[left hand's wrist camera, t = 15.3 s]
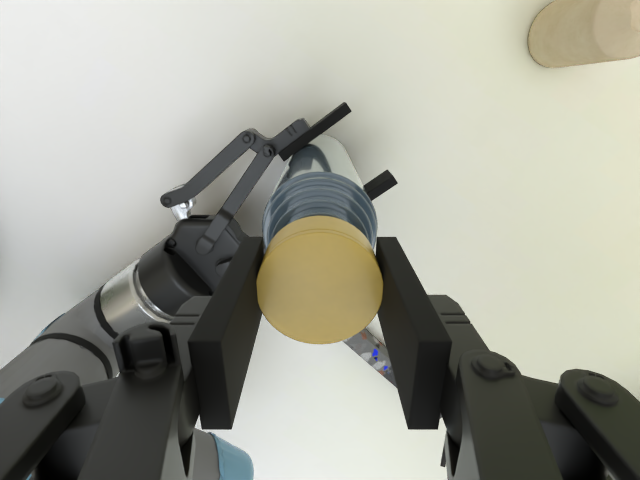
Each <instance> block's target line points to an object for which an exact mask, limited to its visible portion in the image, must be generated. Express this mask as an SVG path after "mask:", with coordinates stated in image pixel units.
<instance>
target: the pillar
mask: <svg viewBox="0 0 640 480" xmlns="http://www.w3.org/2000/svg"><path fill="white" fill-rule="evenodd" d="M342 341H343V342H344V343H345V344H347V345H348V346H349V347H350V348H351V349H352V350H354V351H355V352H356V353H357V354H358V355H359V356H361V357H362V358H363V359H364V360H365V361H366V362H368V363H369V364H370V365H371V366H372V367H373V368H374V369H376V370H377V371H378V372H379V373H380V374H381V375H383V376H384V377H385V378H386V379H387V380H388V381H390V382H391V383H392V384H393V385H394V386H395V387H397V385H396V381H395V378H394V374H393V370H392V366H391V362H390V359H389V355H388V351H387V348H386V347H385V346H384V345H383V344H382V343H380V342H379V341H378V340H377V339H376V338H375V337H374V336H373V335H372V334H370V333H369V332H368V331H367V330H366V329H365V328H364V329H363V330H361V331H360V332H359V333H357V334H355V335H354V336H352V337H350V338H347V339H345V340H342ZM440 418H442V415H441V413H440Z"/></svg>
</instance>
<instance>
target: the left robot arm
mask: <svg viewBox="0 0 640 480" xmlns="http://www.w3.org/2000/svg"><path fill="white" fill-rule="evenodd" d="M263 258H264V246H263V237H244V238H243V240H242V241H241V243H240V245H239V247H238V249H237V251H236V253H235V254H234V256H233V258H232V260H231V262H230V264H229V265H228V267H227V269H226V271H225V273H224V275H223V277H222V278H221V280H220V282H219V284H218V286H217V288H216V290H215V291H214V293H213V295H212V296H193V297H192V298H190V299H189V300H188V301H186V302H185V303H183V304H182V305H181V307H180V308H179V310H178V311H177V313H176V314H175V317H173V319H172V320H171V322H170V324H169V323H165V322H147V323H142V324H138V325H136V326H133V327H131V328H129V329H127V330H125V331H124V332H122V333H121V334H119V335H118V336H117V337H116V338H115V340H114V341H113V342H112V345H113V349H114V352H115V356H116V360H117V364H118V368H119V372H120V374H119V376H118V377H115V378H112V379H108V380H104V381H99V382H95V383H90V384H86V385H82V384H81V381H80V378H79V376H78V375H76V374H75V373H74V372H70V371H56V372H50V373H47V374H43V375H41V376H38V377H36V378H34V379H32V380H30V381H28V382H26V383H24V384H23V385H21V386H20V387H19V388H17V389H16V390H15V391H14V392H12V393H11V394H10V395H9V396H8V397H7V398H6V399H5V400H4V401H3V402H2V403H1V404H0V480H26V479H27V478H28V477H29V475H30V474H31V475H32V476H31V477H30V478H29V480H192V477H193V467H194V457H195V447H196V443H195V436H194V431H193V429H194V427H195V424H196V421H197V419H198V416H199V415H200V421H201V427H202V429H232V426H233V422H234V418H235V414H236V411H237V407H238V403H239V399H240V396H241V392H242V388H243V384H244V380H245V377H246V373H247V369H248V365H249V362H250V358H251V354H252V350H253V347H254V343H255V339H256V335H257V331H258V328H259V324H260V320H261V316H262V311H261V309H260V307H259V304H258V296H257V281H256V280H257V276H258V272H259V269H260V266H261V263H262V260H263ZM376 259H377V262H378V265H379V268H380V271H381V274H382V278H383V293H382V302H381V305H380V307H379V310H378V312H377V313H378V317H379V321H380V325H381V328H382V332H383V336H384V340H385V344H386V347H387V351H388V355H389V359H390V362H391V366H392V370H393V374H394V378H395V381H396V385H397V389H398V393H399V396H400V400H401V404H402V408H403V412H404V415H405V419H406V423H407V427H408V429H438V425H439V419H440V413H441V415H442V418H443V420H444V423H445V426H446V428H447V431H446V436H445V442H444V447H443V453H442V459H441V466H443V467H445V465H446V466H447V476H448V480H640V402H639V401H638V400H637V399H636V398H635V397H634V396H633V395H632V394H631V393H630V392H629V391H628V390H626V389H625V388H624V387H622V386H621V385H620V384H618V383H617V382H616V381H614V380H612V379H610V378H608V377H606V376H604V375H601V374H599V373H595V372H592V371H589V370H581V369H573V370H567V371H565V372H564V373H563V374H562V375H561V377H560V380H559V383H558V384H557V383H552V382H548V381H543V380H538V379H534V378H530V377H527V376H523V375H521V373H520V371H519V370H518V368H517V367H516V365H515V364H514V363H512V362H511V361H510V360H509V359H507V358H506V357H504V356H502V355H500V354H498V353H495V352H492V351H490V350H489V349H488V347H487V346H486V344H485V343H484V341H483V340H482V339H481V337H480V336H479V334H478V333H477V331H476V330H475V328H474V327H473V325H472V324H470V321H469V319H468V318H467V316H466V315H465V313H464V312H463V310H462V309H461V307H460V306H459V304H458V303H457V302H455V301H454V300H452V299H451V298H450V297H448V296H447V295H427V294H426V292H425V290H424V288H423V286H422V284H421V283H420V281H419V279H418V277H417V275H416V273H415V271H414V270H413V268H412V266H411V264H410V262H409V260H408V259H407V257H406V255H405V253H404V251H403V249H402V247H401V246H400V244H399V242H398V240H397V238H396V237H377V242H376Z"/></svg>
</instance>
